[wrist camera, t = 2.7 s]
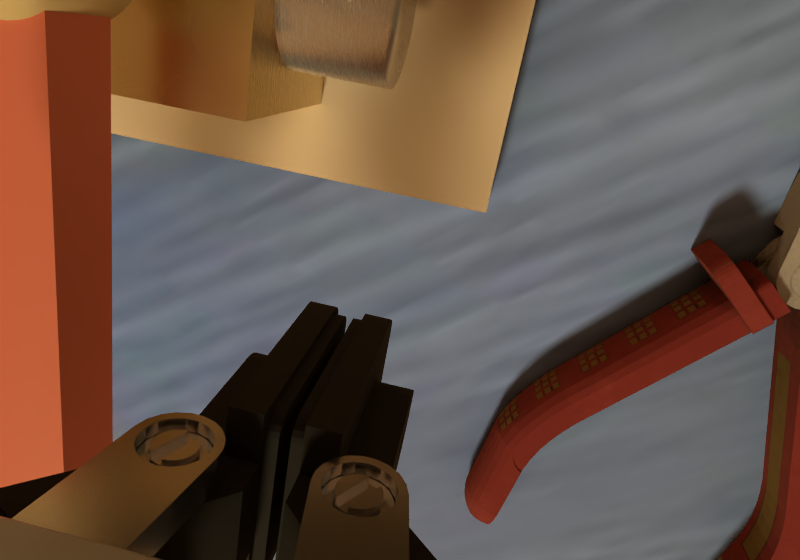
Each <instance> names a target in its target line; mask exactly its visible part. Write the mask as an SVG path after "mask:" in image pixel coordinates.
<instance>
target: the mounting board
mask: <svg viewBox="0 0 800 560" xmlns="http://www.w3.org/2000/svg"><path fill="white" fill-rule="evenodd" d="M535 1H536V0H417V5H416V11H415V17H414V23H413V28H412V33H411V38H410V43H409V47H408V51H407V55H406V59H405V62H404V65H403V68H402V71H401V74H400V77H399V79H398V81H397V83H396V85H395V87H394V88H393V89H385V88H380V87H375V86H370V85H365V84H360V83H354V82H349V81H344V80H339V79H334V78H329V77H324V84H323V93H322V101H321V104H318V105H314V106H310V107H306V108H301V109H297V110H293V111H289V112H285V113H280V114H276V115H272V116H268V117H264V118H259V119H255V120H251V121H247V122H244V121H239V120H234V119H230V118H225V117H220V116H215V115H210V114H205V113H200V112H196V111H191V110H186V109H181V108H176V107H171V106H167V105H162V104H157V103H152V102H147V101H142V100H137V99H133V98H128V97H123V96H118V95H113V94H111V133H113V134H118V135H123V136H127V137H132V138H137V139H141V140H146V141H151V142H156V143H160V144H165V145H170V146H174V147H179V148H184V149H189V150H193V151H198V152H203V153H207V154H212V155H217V156H221V157H226V158H231V159H236V160H240V161H245V162H250V163H254V164H259V165H264V166H269V167H273V168H278V169H283V170H287V171H292V172H297V173H301V174H306V175H311V176H316V177H320V178H325V179H330V180H334V181H339V182H344V183H348V184H353V185H358V186H363V187H367V188H372V189H377V190H381V191H386V192H391V193H396V194H400V195H405V196H410V197H414V198H419V199H424V200H428V201H433V202H438V203H443V204H447V205H452V206H457V207H461V208H466V209H471V210H476V211H480V212H485V213H486V210H487V206H488V201H489V197H490V193H491V189H492V184H493V180H494V176H495V172H496V167H497V163H498V159H499V155H500V150H501V146H502V142H503V137H504V133H505V129H506V125H507V120H508V116H509V112H510V108H511V103H512V99H513V95H514V91H515V86H516V82H517V78H518V74H519V69H520V65H521V61H522V56H523V52H524V48H525V44H526V39H527V35H528V31H529V27H530V22H531V18H532V14H533V10H534V5H535Z"/></svg>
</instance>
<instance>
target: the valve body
mask: <svg viewBox="0 0 800 560" xmlns="http://www.w3.org/2000/svg"><path fill="white" fill-rule="evenodd" d="M416 5H417V0H132V2H131V3H130V4H129V5H128V6H127V8H126V9H125V10H124V11H123V12H121V13H120V14H119V15H118V16H116V17H115V18H113V19H111V94H113V95H118V96H123V97H128V98H133V99H137V100H142V101H147V102H152V103H157V104H162V105H167V106H171V107H176V108H181V109H186V110H191V111H196V112H200V113H205V114H210V115H215V116H220V117H225V118H230V119H234V120H239V121H244V122H247V121H251V120H255V119H259V118H264V117H268V116H272V115H276V114H280V113H285V112H289V111H293V110H297V109H301V108H306V107H310V106H314V105H318V104H321V101H322V93H323V84H324V77H329V78H334V79H339V80H344V81H349V82H354V83H360V84H365V85H370V86H375V87H380V88H385V89H393V88H394V87H395V85H396V83H397V81H398V79H399V77H400V74H401V71H402V68H403V65H404V62H405V59H406V55H407V51H408V47H409V43H410V38H411V33H412V28H413V23H414V17H415V11H416Z"/></svg>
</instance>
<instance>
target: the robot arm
mask: <svg viewBox="0 0 800 560" xmlns="http://www.w3.org/2000/svg"><path fill="white" fill-rule="evenodd" d="M391 326H392V320H390V319H386V318H382V317H377V316H373V315H369V314H365V315H364V317H363V319H362V320H359V319H354V318H353V320H352V322H351V323H350V325H349V327H348V329H347V330H346V332H345V327H346V317H345V316H341V315H338V308H337V307H334V306H329V305H325V304H320V303H316V302H312V301H311V302H310V303H309V304H308V305H307V306H306V308H305V309H304V310H303V311H302V313H301V314H300V315H299V316H298V318H297V319H296V320H295V322H294V323H293V324H292V325H291V327H290V328H289V329H288V330H287V332H286V333H285V334H284V335H283V337H282V338H281V339H280V341H279V342H278V343H277V344H276V346H275V347H274V348H273V349H272V351H271V352H270V353H269V355H264V354H260V353H252V354H251V355H250V356H249V357H248V358H247V359H246V361H245V362H244V363H243V364H242V365H241V366H240V368H239V369H238V370H237V371H236V372H235V374H234V375H233V376H232V377H231V378H230V379H229V381H228V382H227V383H226V384H225V385H224V386H223V388H222V389H221V390H220V391H219V392H218V394H217V395H216V396H215V397H214V398H213V399H212V401H211V402H210V403H209V404H208V405H207V407H206V408H205V409H204V410H203V411H202V412H201V414H200V415H196V414H192V413H168V414H161V415H158V416H155V417H151V418H148V419H146V420H144V421H142V422H141V423H139V424H137V425H135V426H134V427H133V428H131V429H130V430H129V431H127V432H126V433H125V434H123V435H122V436H121V437H119V438H118V439H117V440H115V441H114V442H113V443H111V444H110V445H109V446H107V447H106V448H105V449H103V450H102V451H101V452H99V453H98V454H97V455H95V456H94V457H93V458H91V459H90V460H89V461H87V462H86V463H85V464H83V465H82V466H81V467H79V468H78V469H75V470H71V471H67V472H62V473H58V474H54V475H50V476H46V477H42V478H38V479H34V480H30V481H26V482H22V483H18V484H14V485H10V486H6V487H1V488H0V560H273V557H274V555H275V553H276V560H437V559H436V558H435V557H434V556H433V555H432V554H431V552H430V551H429V550H428V549H427V548H426V547H425V545H424V544H423V543H422V542H421V541H420V540H419V538H418V537H417V536H416V535H415V534H414V532H413V531H412V530H411V529H410V528H409V494H408V489H407V485H406V483H405V481H404V480H403V478H402V477H401V475H400V474H399V473H398V472H397V471H396V469H397V465H398V461H399V457H400V453H401V448H402V444H403V439H404V435H405V431H406V426H407V421H408V417H409V412H410V407H411V402H412V398H413V392H414V390H411V389H407V388H403V387H398V386H394V385H390V384H386V383H382V382H381V380H382V374H383V369H384V364H385V358H386V353H387V348H388V343H389V337H390V332H391ZM344 333H345V334H344ZM276 551H277V552H276Z"/></svg>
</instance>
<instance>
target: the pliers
mask: <svg viewBox="0 0 800 560" xmlns="http://www.w3.org/2000/svg"><path fill="white" fill-rule="evenodd" d="M774 225H776V226H777V227H778V228H780V229H781V230H782V231H784V232H783V234H782V236H780V237H778V238H776V239H774V240H773V241H771V242H770V243H769V244H768V245H767V246H766V247H765V248H764V249H763V250H762V251H761V252H760V253H759V254H758V255H757V256H756V257H755V258H754V259H753V260H752V261H751V262H749V261H748V260H746V259H744V260H742V261H741V262H739V263H737V264H734V263H733V261H732V260H731V259H730V258H729V257H728V255H727V254H726V253H725V252H724V251H723V250H722V249H721V248H720V247H719V246H717V245H716V244H715V243H714V242H713V241H712V240H711V239H708V240H707V241H705V242H703V243H702V244H700V245H698V246H697V247H695V248H693V249H692V250H691V251H692V252H693V254H694V255H695V257H696V258H697V260H698V261H699V262H700V264H701V265H702V267H703V268H704V270H705V271H706V273H707V274H708V276H709V277H710V279H711V280H710V281H708V282H707V283H705V284H703V285H701V286H700V287H698V288H696V289H694V290H692V291H691V292H689V293H687V294H685V295H684V296H682V297H680V298H678V299H676V300H675V301H673V302H671V303H669V304H668V305H666V306H664V307H662V308H661V309H659V310H657V311H655V312H653V313H652V314H650V315H648V316H646V317H645V318H643V319H641V320H639V321H637V322H636V323H634V324H632V325H630V326H629V327H627V328H625V329H623V330H622V331H620V332H618V333H616V334H614V335H613V336H611V337H609V338H607V339H606V340H604V341H602V342H600V343H599V344H597V345H595V346H593V347H591V348H590V349H588V350H586V351H584V352H583V353H581V354H579V355H577V356H575V357H574V358H572V359H570V360H568V361H567V362H565V363H563V364H561V365H560V366H558V367H556V368H554V369H552V370H551V371H549V372H548V373H546V374H545V375H543V376H542V377H540V378H539V379H537V380H536V381H535V382H533V383H532V384H531V385H529V386H528V387H527V388H525V389H524V390H523V391H522V392H521V393H519V394H518V395H517V396H516V397H515V398H514V399H512V400H511V402H510V403H509V404H508V405H507V406H506V407H505V408H504V410H503V411H502V412H501V413H500V414H499V415H498V417H497V419H496V421H495V423H494V425H493V427H492V429H491V431H490V433H489V435H488V437H487V439H486V441H485V443H484V445H483V447H482V449H481V451H480V452H479V454H478V456H477V458H476V460H475V462H474V464H473V466H472V468H471V470H470V472H469V474H468V476H467V479H466V483H465V499H466V503H467V506H468V509H469V511H470V513H471V514H472V515H473V516H474V517H475V518H476V519H478V520H480V521H481V522H484V523H486V524H490V523H491V522H492V521H493V520H494V519H495V517H496V516H497V514H498V512H499V511H500V509H501V507H502V505H503V504H504V502H505V500H506V498H507V496H508V495H509V493H510V491H511V489H512V488H513V486H514V484H515V482H516V481H517V479H518V477H519V475H520V473H521V471H522V470H523V468H524V467H525V466H526V464H527V463H528V462H529V460H530V459H531V458H532V457H533V456H534V455H535V454H536V453H537V452H538V451H539V450H540V449H541V448H542V447H543V446H544V445H546V444H547V443H548V442H549V441H550V440H552V439H553V438H555V437H556V436H557V435H559V434H560V433H562V432H563V431H565V430H566V429H568V428H569V427H571V426H573V425H574V424H576V423H578V422H580V421H582V420H584V419H586V418H587V417H589V416H591V415H593V414H595V413H597V412H599V411H601V410H603V409H605V408H607V407H609V406H611V405H612V404H614V403H616V402H618V401H620V400H622V399H624V398H626V397H628V396H630V395H632V394H634V393H636V392H637V391H639V390H641V389H643V388H645V387H647V386H649V385H651V384H653V383H655V382H657V381H659V380H660V379H662V378H664V377H666V376H668V375H670V374H672V373H674V372H676V371H678V370H680V369H682V368H684V367H685V366H687V365H689V364H691V363H693V362H695V361H697V360H699V359H701V358H703V357H705V356H707V355H709V354H710V353H712V352H714V351H716V350H718V349H720V348H722V347H724V346H726V345H728V344H730V343H732V342H734V341H735V340H737V339H739V338H741V337H743V336H745V335H747V334H749V333H751V332H752V333H753V334H754V333H756V332H758V331H760V330H761V329H763V328H765V327H767V326H769V325H771V324H773V323H774V322H773V321H774V320H776V319H777V323H776V334H775V345H774V356H773V368H772V379H771V390H770V401H769V413H768V424H767V435H766V446H765V458H764V469H763V480H762V485H761V490H760V494H759V497H758V501H757V504H756V507H755V509H754V512H753V514H752V516H751V518H750V519H749V521H748V523H747V525H746V526H745V528H744V529H743V531H742V532H741V533H740V535H739V536H738V537H737V538H736V539H735V540H734V542H733V543H732V544H731V545H730V546H729V547H728V548H727V549H726V550H725V551H724V552H723V554H722V555H721V556H720V557H719V558H718V559H717V560H800V172H799V174H798V175H797V177H796V179H795V181H794V183H793V184H792V186H791V188H790V190H789V192H788V194H787V196H786V198H785V200H784V202H783V204H782V206H781V209H780V211H779V213H778V215H777V217H776V220H775V222H774Z"/></svg>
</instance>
